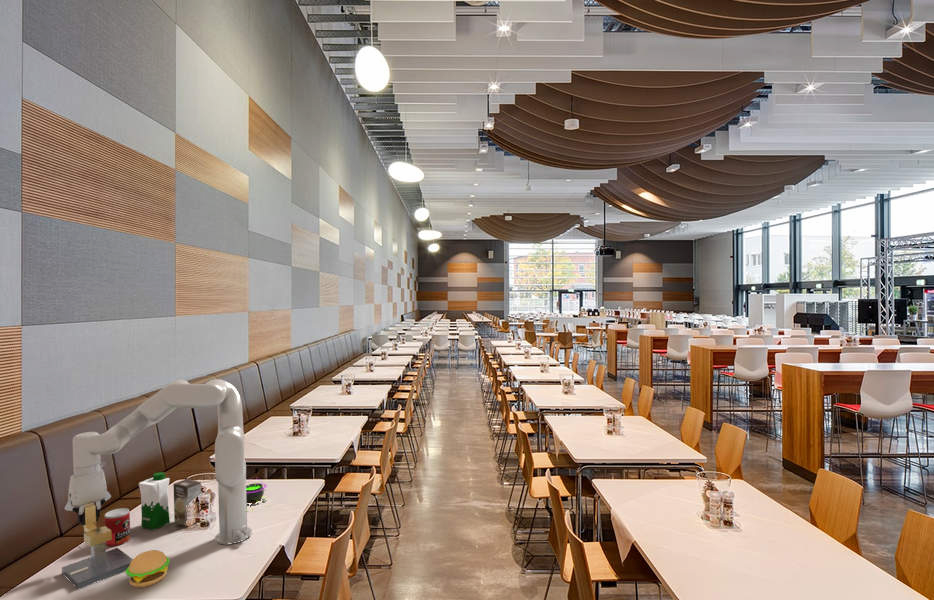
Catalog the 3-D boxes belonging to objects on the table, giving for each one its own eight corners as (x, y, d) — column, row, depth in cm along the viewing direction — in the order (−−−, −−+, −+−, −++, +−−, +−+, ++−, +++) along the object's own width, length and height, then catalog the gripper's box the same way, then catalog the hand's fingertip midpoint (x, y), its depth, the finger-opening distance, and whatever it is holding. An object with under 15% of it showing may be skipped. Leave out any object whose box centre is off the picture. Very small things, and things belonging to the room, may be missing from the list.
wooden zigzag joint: (111, 539, 172) (110, 509, 171) (90, 546, 167) (89, 516, 167) (98, 529, 179) (97, 501, 179) (77, 536, 174) (76, 507, 174)
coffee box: (173, 523, 206) (172, 483, 205) (188, 516, 211) (187, 478, 211) (187, 527, 201) (186, 487, 201) (202, 521, 207) (201, 481, 207)
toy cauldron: (279, 500, 227) (278, 475, 227) (252, 513, 213) (251, 487, 213) (254, 495, 233) (254, 471, 233) (226, 508, 220) (226, 482, 220)
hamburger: (121, 581, 164) (120, 554, 164) (162, 565, 173) (161, 540, 173) (132, 595, 156) (131, 567, 156) (175, 578, 165) (174, 551, 165)
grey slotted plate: (135, 567, 173) (134, 540, 172) (77, 589, 160) (76, 561, 160) (117, 553, 182) (116, 528, 182) (61, 573, 170) (61, 546, 169)
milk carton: (173, 522, 207) (172, 472, 206) (152, 532, 198) (150, 480, 198) (158, 518, 210) (156, 470, 210) (137, 528, 202) (135, 478, 201)
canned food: (118, 547, 187) (117, 517, 186) (99, 545, 188) (98, 516, 188) (135, 537, 194) (134, 508, 194) (117, 535, 196) (117, 507, 196)
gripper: (111, 460, 184) (112, 511, 185) (54, 474, 171) (56, 528, 172) (119, 464, 180) (120, 516, 180) (61, 478, 167) (63, 534, 167)
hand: (89, 521), depth 176 cm, fingers closed on wooden zigzag joint, 3 cm apart
